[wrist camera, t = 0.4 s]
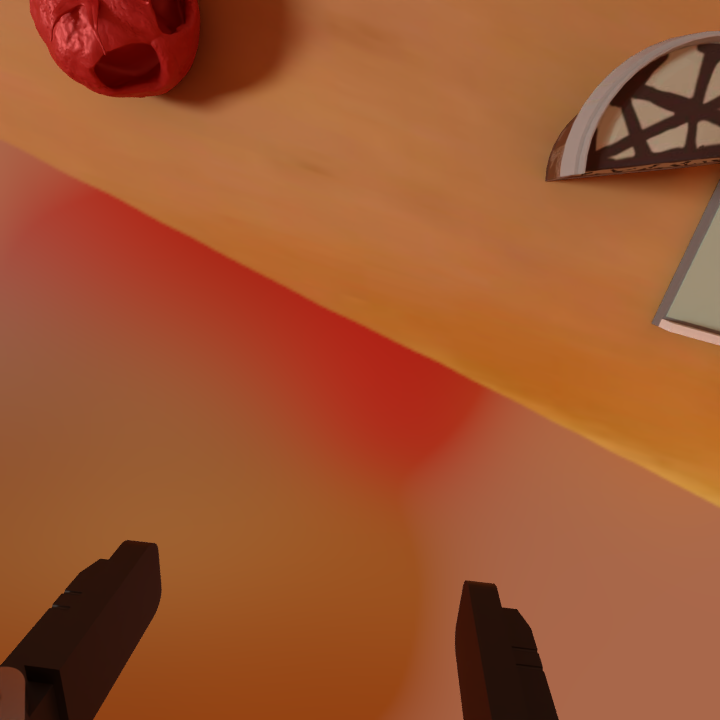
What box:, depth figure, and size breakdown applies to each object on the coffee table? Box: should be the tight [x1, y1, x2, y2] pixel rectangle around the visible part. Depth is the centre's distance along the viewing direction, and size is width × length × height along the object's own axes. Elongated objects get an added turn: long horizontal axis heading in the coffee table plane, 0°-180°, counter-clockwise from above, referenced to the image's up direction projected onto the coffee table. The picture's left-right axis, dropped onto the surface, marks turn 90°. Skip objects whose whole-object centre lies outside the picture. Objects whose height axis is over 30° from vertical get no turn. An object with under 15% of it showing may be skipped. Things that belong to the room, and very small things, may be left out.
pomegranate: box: [30, 0, 200, 98], centre depth 28 cm, size 10×10×9 cm
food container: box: [546, 31, 720, 181], centre depth 28 cm, size 12×6×10 cm, turn 95°
